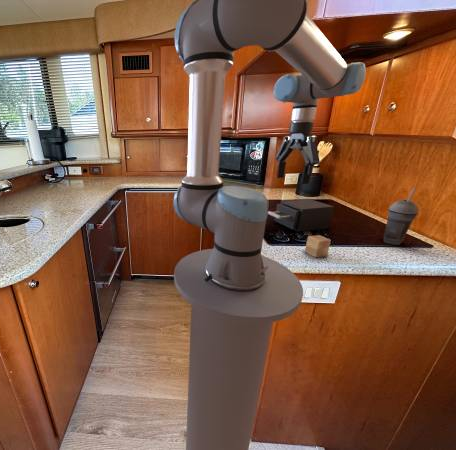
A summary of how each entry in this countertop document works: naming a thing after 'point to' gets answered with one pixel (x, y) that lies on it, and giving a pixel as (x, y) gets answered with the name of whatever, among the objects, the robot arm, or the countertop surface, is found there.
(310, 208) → the dark brown box
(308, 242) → the block
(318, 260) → the countertop surface
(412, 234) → the countertop surface
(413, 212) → the beverage cup
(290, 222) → the basket
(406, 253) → the countertop surface
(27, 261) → the countertop surface
